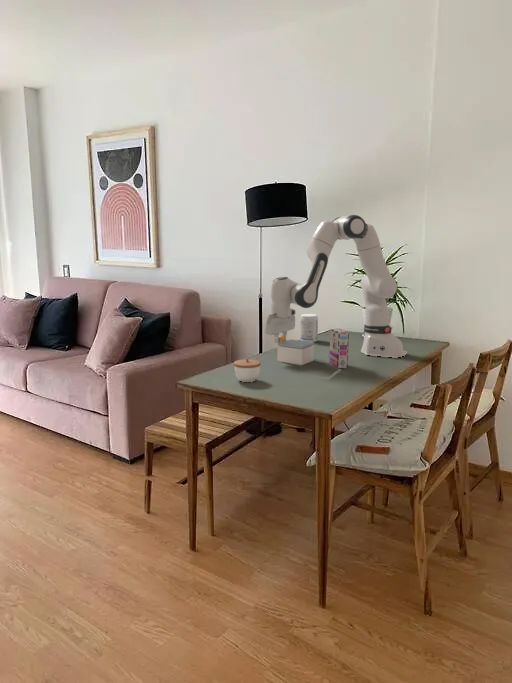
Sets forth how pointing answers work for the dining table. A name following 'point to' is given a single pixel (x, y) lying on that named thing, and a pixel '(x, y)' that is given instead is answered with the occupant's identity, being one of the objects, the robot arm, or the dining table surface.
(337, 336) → the candy bar box
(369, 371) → the dining table surface
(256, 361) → the lidded jar
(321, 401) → the dining table surface
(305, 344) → the lid
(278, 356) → the tub
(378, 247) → the robot arm
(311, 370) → the dining table surface
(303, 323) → the supplement tub
